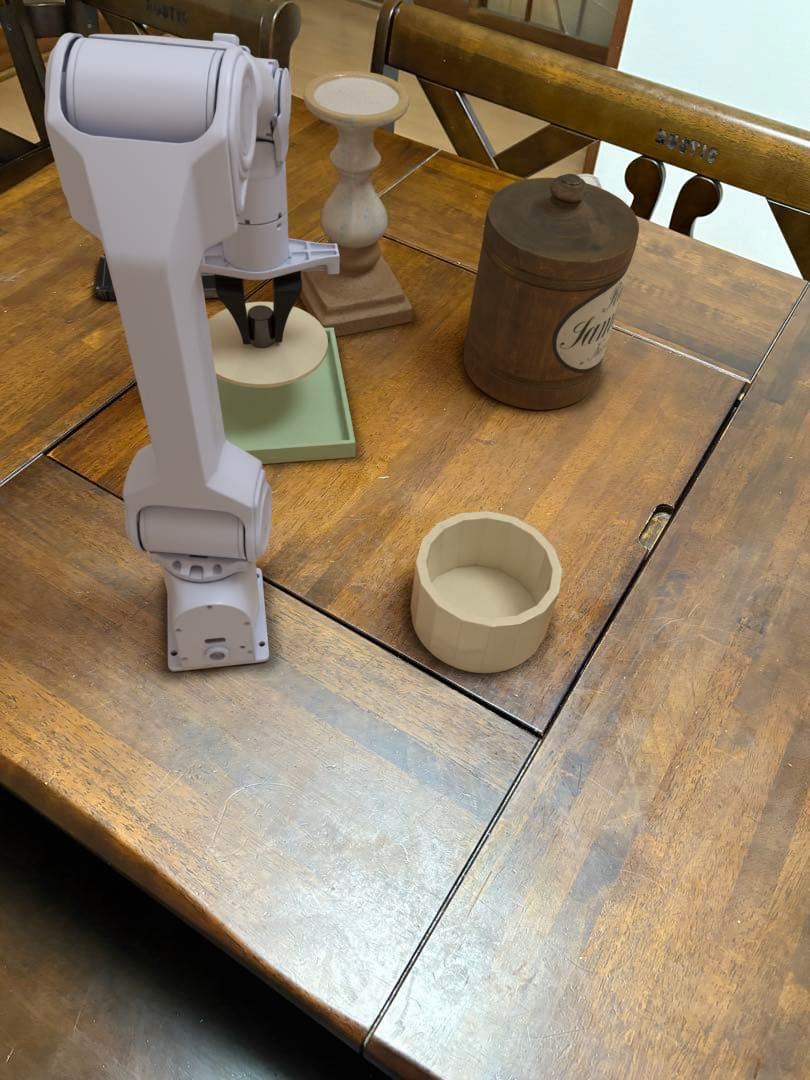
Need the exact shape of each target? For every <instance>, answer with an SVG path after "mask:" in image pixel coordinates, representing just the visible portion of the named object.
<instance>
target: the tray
mask: <svg viewBox="0 0 810 1080" xmlns="http://www.w3.org/2000/svg"><path fill="white" fill-rule="evenodd" d="M324 330H325V332H326V334H327V338H328V350H327V354H326V357H325V359H324V360H323V362H322V363H321V365H320V366H319V367H318V368H317V369H316V370H315V371H314V372H313V373H311V374H310V375H308V376H307V377H305V378H303V379H301V380H299V381H296V382H294V383H290V384H287V385H283V386H278V387H270V388H252V387H244V386H239V385H235V384H232V383H229V382H226V381H224V380H222V379H220V378H218V377H216V379H217V386H218V393H219V400H220V406H221V413H222V420H223V427H224V434H225V439H226V440H227V441H228V442H230V443H232V444H233V445H235V446H237V447H238V448H240V449H242V450H244V451H245V452H247V453H249V454H251V455H252V456H254V457H255V458H257V459H259V460H260V461H261V462H262V465H268V464H269V465H270V464H282V463H293V462H294V463H295V462H306V461H307V462H308V461H309V462H310V461H322V460H335V459H336V460H337V459H348V458H350V459H351V458H355V457H356V448H357V447H356V445H357V444H356V437H355V432H354V427H353V422H352V416H351V411H350V406H349V401H348V396H347V395H348V394H347V390H346V384H345V380H344V375H343V370H342V364H341V358H340V354H339V348H338V342H337V338H336V337H335V332H334V328H324Z"/></svg>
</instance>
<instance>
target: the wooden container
mask: <svg viewBox="0 0 810 1080" xmlns="http://www.w3.org/2000/svg"><path fill="white" fill-rule="evenodd" d="M577 175H578V174H574V173H565V174H561V175H559V176H556V177H534V178H527V179H522V180H518V181H515V182H512V183H510V184H507V185H504V186H503V187H502V188H501V189H499V190H498V191H496V192H495V193H494V195H493V196H492V197H491V199H490V201H489V203H488V207H487V211H486V214H485V219H484V226H483V233H482V235H483V237H482V241H481V247H480V254H479V259H478V265H477V270H476V276H475V281H474V286H473V292H472V297H471V303H470V309H469V316H468V322H467V329H466V330H467V331H466V337H465V343H464V351H463V366H464V369H465V372H466V374H467V376H468V378H469V379H470V380H471V382H472V383H473V384H474V385H475V386H476V387H477V388H478V389H479V390H481V392H483V393H484V394H486V395H487V396H489V397H491V398H493V399H495V400H496V401H498V402H502V403H504V404H506V405H509V406H512V407H515V408H519V409H521V408H522V409H527V410H537V411H538V410H539V411H540V410H541V411H542V410H543V411H544V410H555V409H556V410H557V409H560V408H564V407H568V406H572V405H574V404H576V403H579V402H580V401H581V400H582V399H584V398H585V397H586V396H587V395H589V394H590V393H591V391H592V390H593V388H594V387H595V384H596V382H597V379H598V377H599V373H600V370H601V366H602V363H603V359H604V356H605V353H606V351H607V347H608V344H609V341H610V337H611V335H612V331H613V327H614V323H615V320H616V316H617V312H618V308H619V305H620V300H621V297H622V293H623V290H624V286H625V283H626V279H627V276H628V272H629V268H630V265H631V262H632V259H633V257H634V254H635V250H636V248H637V247H636V246H637V244H638V243H637V242H638V238H639V235H640V224H639V223H640V222H639V220H638V218H637V216H636V214H635V212H634V210H633V209H632V208H631V207H630V206H629V205H628V204H627V202H625V201H624V200H622V198H620V197H618V196H617V195H615V194H613V193H612V192H610V191H608V190H606V189H604V188H603V187H602V188H599V187H597V186H594V185H591V184H588V183H586V182H585V181H584V180H583V179H582V178H580V177H579V176H577Z"/></svg>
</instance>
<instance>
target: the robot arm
mask: <svg viewBox="0 0 810 1080" xmlns="http://www.w3.org/2000/svg"><path fill="white" fill-rule="evenodd" d="M45 69H46V70H45V79H44V95H45V96H44V108H43V109H44V111H43V113H44V124H45V130H46V133H47V138H48V141H49V144H50V149H51V152H52V156H53V159H54V163H55V167H56V170H57V174H58V178H59V182H60V185H61V188H62V189H61V190H62V192H63V194H64V196H65V197H66V198H65V199H66V201H67V205H68V208H69V213H70V216H71V218H72V220H74V221H75V222H76V223H77V224H79V225H80V226H81V227H83V228H84V229H85V230H87V232H90V233H91V234H92V235H93V236H94V237H96V238H97V239H99V240H100V242H101V244H102V248H103V251H104V254H105V256H106V260H107V264H108V268H109V272H110V275H111V279H112V283H113V287H114V291H115V295H116V299H117V300H116V303H117V307H118V311H119V315H120V319H121V322H122V323H121V324H122V327H123V331H124V336H125V340H126V343H127V349H128V352H129V356H130V360H131V364H132V368H133V372H134V376H135V380H136V384H137V385H136V386H137V389H138V393H139V397H140V400H141V401H140V402H141V404H142V409H143V413H144V417H145V422H146V425H147V429H148V434H149V438H150V442H151V443H148V444H147V445H145V446H143V447H142V448H140V449H139V450H137V451H136V453H135V455H134V457H133V459H132V461H131V463H130V465H129V466H128V470H127V473H126V476H125V480H124V483H123V489H122V498H123V503H124V527H125V528H124V529H125V533H126V537H127V540H128V541H129V544H130V545H132V548H133V549H134V550H135V551H136V552H138V553H149V556H150V561H151V563H152V564H156V565H160V567H161V572H162V576H163V580H164V584H165V589H166V593H167V667H168V669H169V671H171V672H183V671H190V670H200V669H201V670H202V669H209V668H219V667H228V666H229V667H230V666H238V665H247V664H256V663H264V662H267V661H268V660H269V659H270V651H269V648H270V647H269V638H268V627H267V625H268V624H267V614H266V613H267V612H266V606H265V605H266V604H265V603H266V601H265V593H264V592H265V591H264V579H263V570H262V569H261V568H260V567H257V562H259V560H260V559H261V558H262V557H263V556H264V555H265V554H266V552H267V550H268V547H269V541H270V537H271V536H270V535H271V530H272V529H271V528H272V518H273V492H272V487H271V485H270V484H269V482H268V480H267V475H266V471H265V470H264V469H263V464H262V462H261V461H260V460H259V459H257V458H255V457H254V456H252V455H251V454H249V453H247V452H245V451H244V450H242V449H240V448H238V447H237V446H235V445H233V444H232V443H230V442H228V441H227V440H226V439H225V434H224V427H223V420H222V413H221V406H220V400H219V393H218V386H217V379H216V372H215V366H214V359H213V352H212V345H211V338H210V332H209V325H208V320H209V318H208V312H207V306H206V300H205V299H206V298H204V291H203V284H202V277H201V276H205V275H214V276H215V286H216V293H217V295H218V297H219V298H218V299H219V301H220V302H221V303H222V304H223V305H224V306H225V309H228V310H229V312H230V313H231V315H232V317H233V318H234V320H235V322H236V324H237V326H238V329H239V331H240V334H241V337H242V340H243V344H250V332H249V325H248V316H247V310H246V305H245V303H246V300H245V299H246V298H245V287H244V280H249V281H265V280H270V279H272V289H273V290H272V294H273V301H272V302H273V315H274V335H275V343H278V342H283V333H284V328H285V325H286V322H287V319H288V316H289V314H290V312H291V310H292V308H293V306H294V307H295V304H296V302H297V301H298V299H299V298H300V294H301V291H302V280H301V271H322V270H327V273H328V274H339V251H338V246H337V244H327V242H326V243H325V242H323V243H322V242H314V241H308V240H302V239H296V238H290V237H289V217H288V187H287V164H286V159H287V155H288V151H289V141H290V137H289V135H290V134H289V126H290V122H291V113H292V83H291V77H290V71H289V68H287V67H284V68H282V67H280V64H279V61H278V59H274V58H264V57H255V56H253V55H252V54H251V49H250V48H249V47H248V46H246V45H241V44H240V38H239V36H237V35H236V34H234V33H233V34H232V33H221V32H214V33H213V34H212V40H202V39H193V38H192V39H191V38H181V37H171V36H170V37H169V36H160V35H149V34H148V35H147V34H145V35H144V34H115V33H113V34H111V33H93V34H89V35H88V36H87V37H84V36H83V34H81V33H74V32H67V33H64V34H63V35H61V36H60V37H59V39H58V41H57V42H56V44H55V45H54V47H53V48H52V49H51V51H50V54H49V57H48V59H47V64H46V68H45ZM262 645H263V646H262ZM173 654H176V655H173Z"/></svg>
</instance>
